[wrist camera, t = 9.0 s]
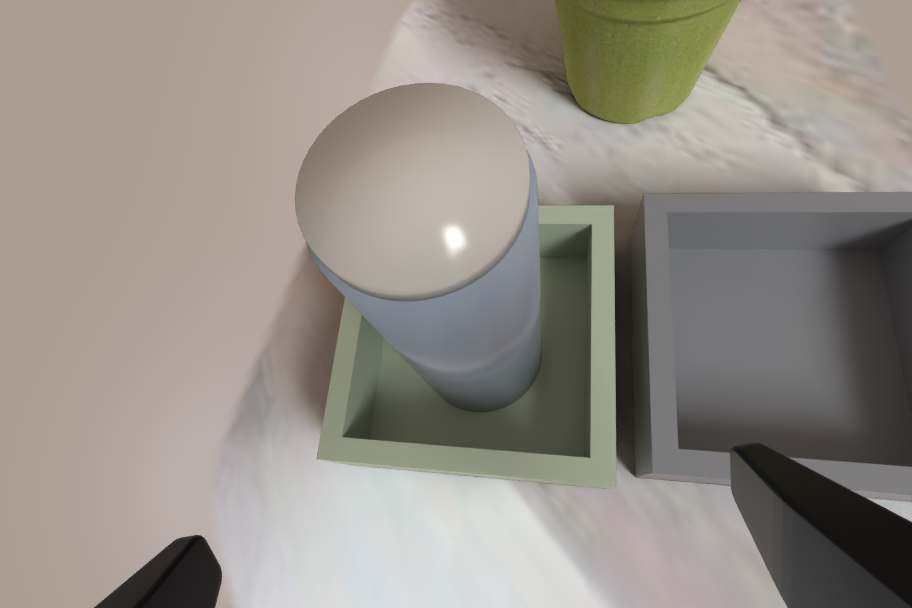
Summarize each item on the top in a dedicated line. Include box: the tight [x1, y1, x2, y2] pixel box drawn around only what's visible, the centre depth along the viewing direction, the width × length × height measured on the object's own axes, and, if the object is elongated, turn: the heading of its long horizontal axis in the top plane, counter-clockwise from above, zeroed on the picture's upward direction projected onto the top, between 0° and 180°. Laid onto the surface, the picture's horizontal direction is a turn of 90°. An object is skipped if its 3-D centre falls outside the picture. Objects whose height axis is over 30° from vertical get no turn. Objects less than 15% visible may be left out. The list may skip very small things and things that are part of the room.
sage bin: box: [317, 205, 616, 489], centre depth 21 cm, size 10×10×4 cm
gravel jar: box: [295, 83, 542, 413], centre depth 16 cm, size 5×5×12 cm
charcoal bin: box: [630, 192, 912, 502], centre depth 19 cm, size 10×10×4 cm
